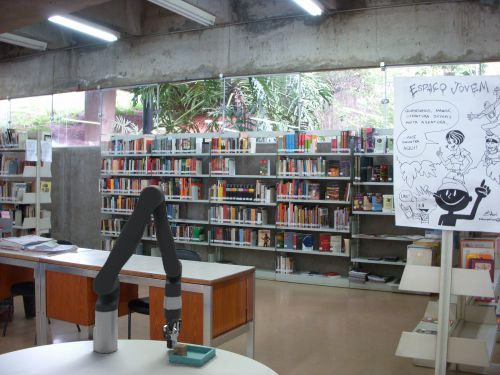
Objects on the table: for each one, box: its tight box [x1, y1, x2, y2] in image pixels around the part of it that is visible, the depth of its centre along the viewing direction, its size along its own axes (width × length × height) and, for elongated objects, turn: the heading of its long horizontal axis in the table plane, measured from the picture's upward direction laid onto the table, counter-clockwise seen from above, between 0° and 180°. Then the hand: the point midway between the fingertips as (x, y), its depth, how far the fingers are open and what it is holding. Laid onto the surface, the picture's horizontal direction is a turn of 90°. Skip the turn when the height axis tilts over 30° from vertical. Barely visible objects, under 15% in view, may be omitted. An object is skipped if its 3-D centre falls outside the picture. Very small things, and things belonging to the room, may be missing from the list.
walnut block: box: [173, 342, 187, 357], centre depth 203 cm, size 4×4×5 cm
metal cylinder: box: [167, 332, 178, 350], centre depth 214 cm, size 4×4×6 cm
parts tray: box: [168, 343, 217, 367], centre depth 205 cm, size 14×14×3 cm
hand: (171, 346), depth 214 cm, fingers closed on metal cylinder, 4 cm apart
